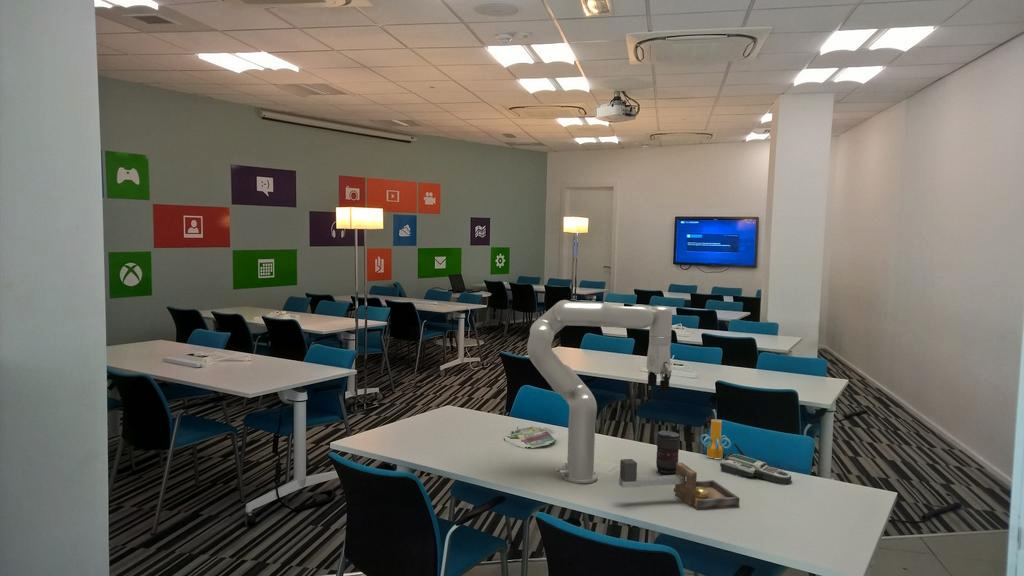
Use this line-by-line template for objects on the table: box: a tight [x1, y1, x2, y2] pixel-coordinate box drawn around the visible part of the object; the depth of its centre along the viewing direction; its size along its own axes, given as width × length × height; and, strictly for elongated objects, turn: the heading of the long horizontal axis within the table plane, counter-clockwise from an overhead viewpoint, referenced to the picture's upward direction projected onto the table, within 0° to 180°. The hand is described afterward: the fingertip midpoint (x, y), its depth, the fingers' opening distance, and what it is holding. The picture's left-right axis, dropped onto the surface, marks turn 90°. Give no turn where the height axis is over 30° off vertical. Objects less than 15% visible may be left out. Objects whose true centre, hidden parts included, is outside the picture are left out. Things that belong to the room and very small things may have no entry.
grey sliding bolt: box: [618, 458, 686, 489], centre depth 207 cm, size 22×4×8 cm, turn 103°
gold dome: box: [696, 487, 708, 499], centre depth 211 cm, size 4×4×2 cm
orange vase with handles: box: [700, 418, 732, 459], centre depth 255 cm, size 12×10×15 cm
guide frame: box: [673, 462, 740, 511], centre depth 211 cm, size 16×16×11 cm
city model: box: [506, 426, 559, 449], centre depth 271 cm, size 25×23×6 cm
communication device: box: [719, 443, 792, 485], centre depth 235 cm, size 12×24×9 cm, turn 49°
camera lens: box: [655, 430, 681, 476], centre depth 235 cm, size 8×8×15 cm
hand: (658, 388), depth 226 cm, fingers open, 9 cm apart
